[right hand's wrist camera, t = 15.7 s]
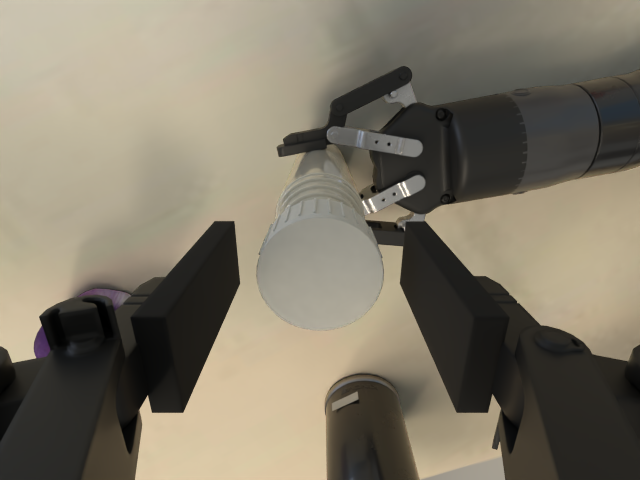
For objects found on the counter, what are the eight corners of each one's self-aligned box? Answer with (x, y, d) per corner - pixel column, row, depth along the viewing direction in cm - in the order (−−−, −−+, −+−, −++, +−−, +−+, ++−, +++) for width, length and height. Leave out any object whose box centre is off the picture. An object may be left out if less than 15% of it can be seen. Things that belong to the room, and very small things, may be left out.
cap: (370, 300, 15) (379, 333, 13) (266, 297, 15) (256, 330, 13) (380, 198, 14) (391, 217, 11) (263, 195, 13) (252, 213, 11)
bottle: (297, 189, 35) (261, 328, 13) (294, 140, 33) (247, 211, 12) (344, 187, 35) (384, 324, 13) (343, 138, 33) (387, 205, 12)
